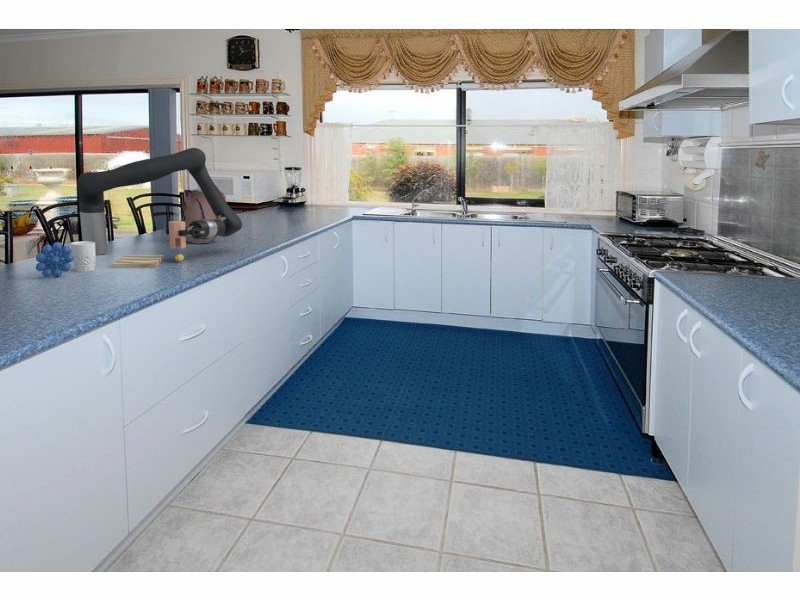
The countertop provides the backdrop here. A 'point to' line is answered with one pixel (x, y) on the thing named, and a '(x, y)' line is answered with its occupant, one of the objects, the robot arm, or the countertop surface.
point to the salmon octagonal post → (176, 234)
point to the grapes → (54, 260)
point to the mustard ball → (179, 257)
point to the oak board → (138, 261)
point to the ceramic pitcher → (197, 212)
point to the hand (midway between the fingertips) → (172, 232)
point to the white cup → (84, 256)
